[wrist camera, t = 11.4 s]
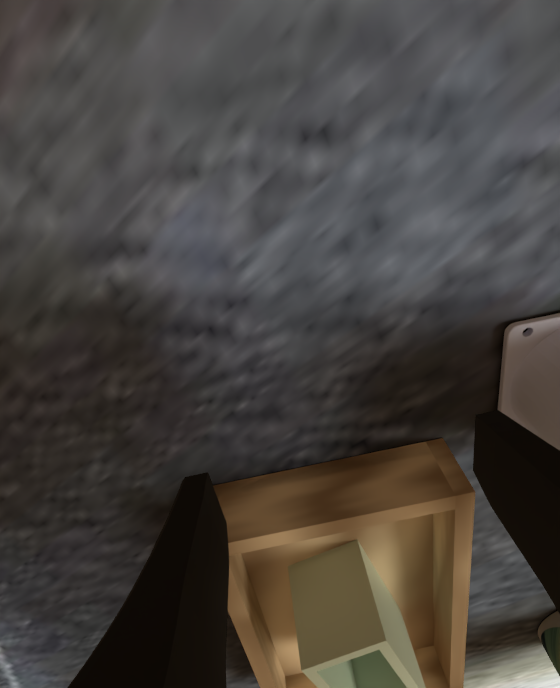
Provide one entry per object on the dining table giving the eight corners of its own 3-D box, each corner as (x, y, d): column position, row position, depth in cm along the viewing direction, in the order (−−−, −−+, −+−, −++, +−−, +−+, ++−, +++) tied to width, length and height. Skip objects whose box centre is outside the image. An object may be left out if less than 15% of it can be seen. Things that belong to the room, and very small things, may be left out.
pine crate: (442, 438, 26) (475, 491, 23) (441, 636, 38) (462, 692, 34) (204, 487, 26) (201, 548, 23) (273, 671, 38) (278, 730, 34)
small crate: (357, 539, 29) (386, 640, 24) (399, 608, 33) (432, 706, 28) (287, 566, 29) (301, 670, 24) (338, 630, 34) (359, 730, 29)
